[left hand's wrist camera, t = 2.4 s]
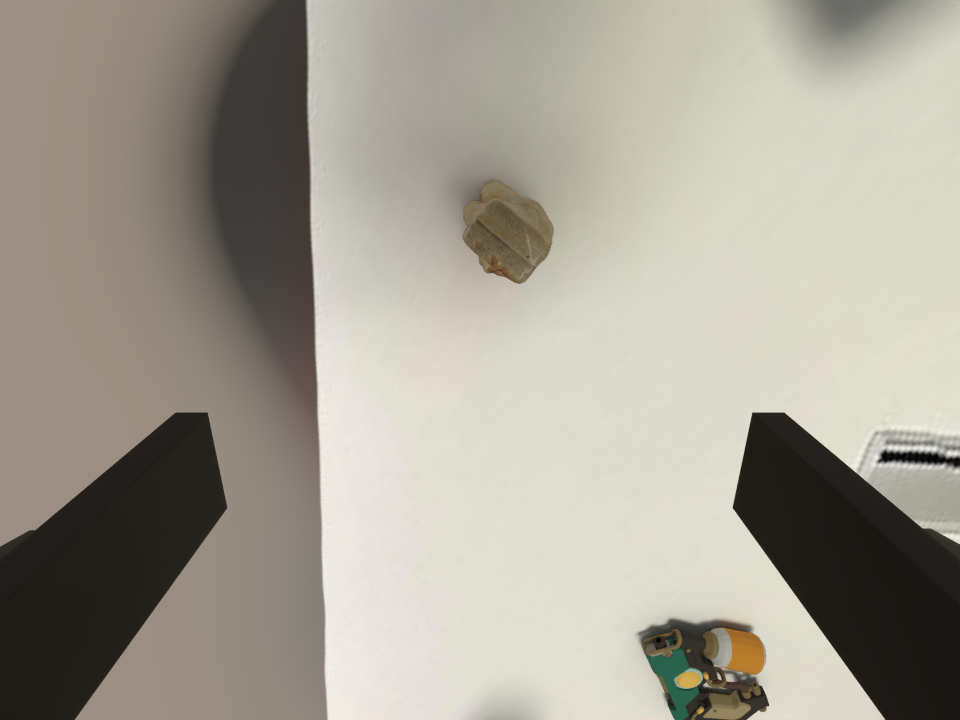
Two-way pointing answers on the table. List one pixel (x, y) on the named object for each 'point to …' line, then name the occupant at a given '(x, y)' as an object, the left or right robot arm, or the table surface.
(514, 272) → the sculpture
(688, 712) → the spray gun
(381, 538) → the table surface
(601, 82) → the table surface
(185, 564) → the left robot arm
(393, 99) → the table surface
